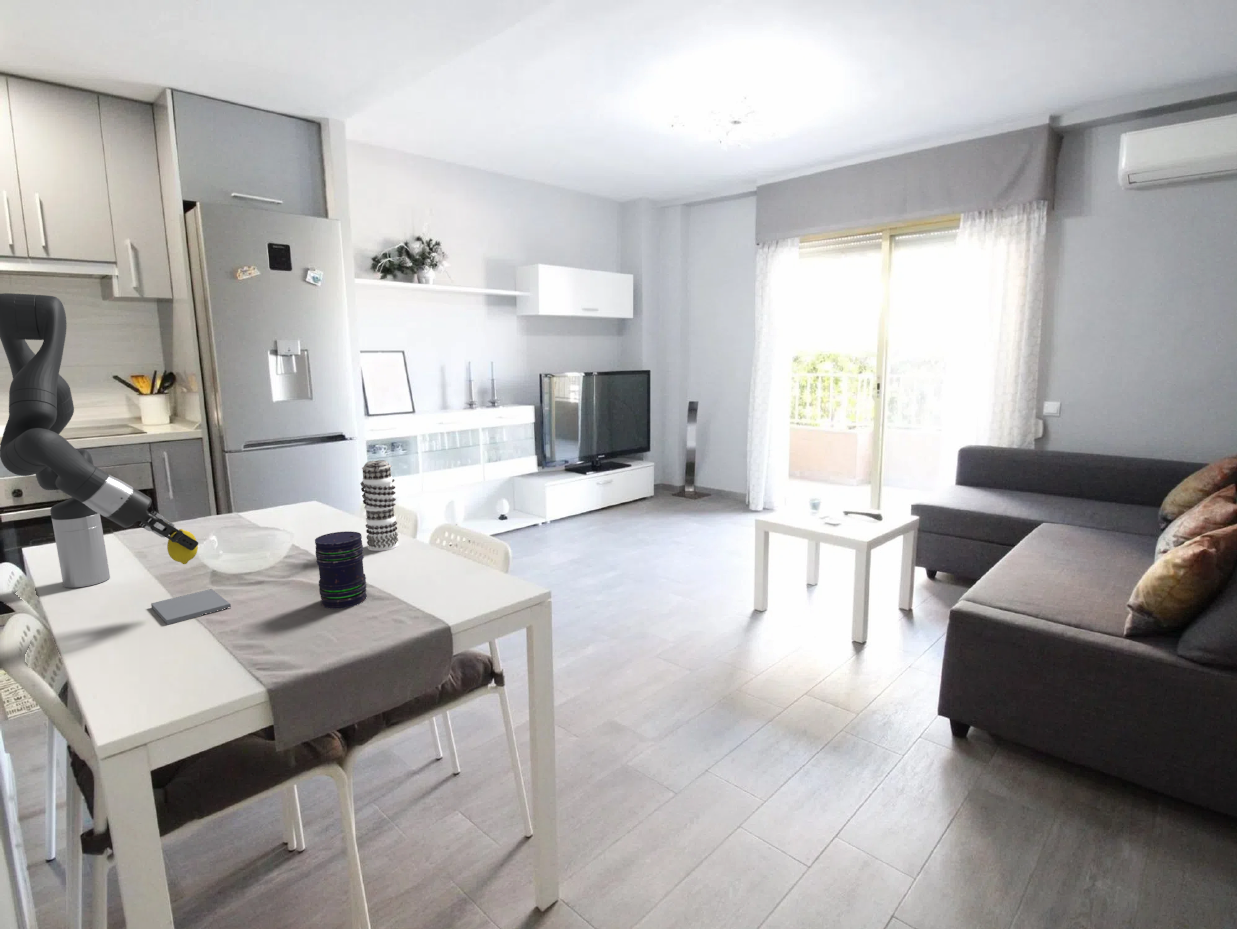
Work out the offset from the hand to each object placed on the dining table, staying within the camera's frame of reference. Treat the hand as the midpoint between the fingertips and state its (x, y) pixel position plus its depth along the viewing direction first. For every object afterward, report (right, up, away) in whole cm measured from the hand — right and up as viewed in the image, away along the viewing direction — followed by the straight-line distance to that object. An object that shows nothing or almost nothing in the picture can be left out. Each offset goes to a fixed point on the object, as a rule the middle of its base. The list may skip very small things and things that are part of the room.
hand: (191, 543), depth 145 cm
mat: (-1, -14, +1) cm, 14 cm away
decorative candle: (+26, -6, +45) cm, 53 cm away
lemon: (-1, -5, 0) cm, 5 cm away
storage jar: (+32, -14, +4) cm, 35 cm away
